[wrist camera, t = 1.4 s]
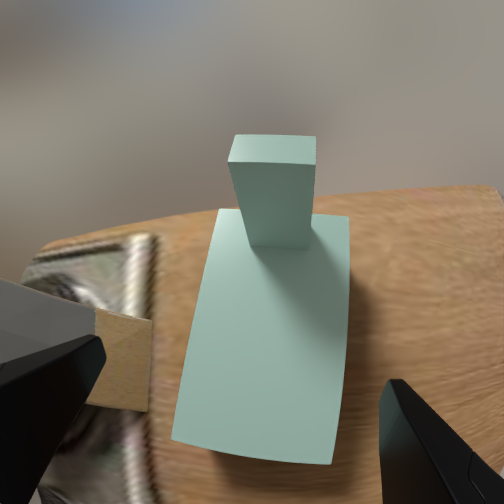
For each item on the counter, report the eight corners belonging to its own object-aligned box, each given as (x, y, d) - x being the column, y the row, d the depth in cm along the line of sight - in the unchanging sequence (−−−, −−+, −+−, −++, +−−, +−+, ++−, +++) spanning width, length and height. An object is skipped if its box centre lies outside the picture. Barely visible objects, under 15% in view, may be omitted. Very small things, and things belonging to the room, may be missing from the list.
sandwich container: (150, 415, 20) (0, 409, 7) (32, 386, 21) (-81, 348, 8) (155, 318, 24) (35, 225, 11) (41, 312, 25) (-60, 249, 12)
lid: (327, 458, 14) (362, 513, 6) (180, 436, 16) (93, 457, 7) (345, 228, 22) (368, 129, 13) (223, 220, 23) (190, 125, 15)
